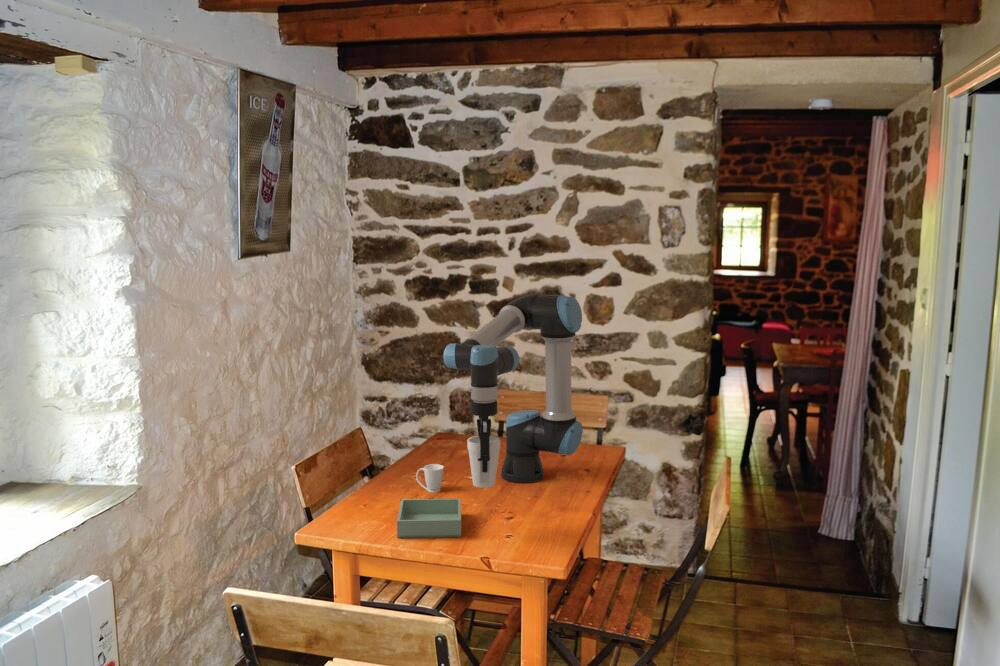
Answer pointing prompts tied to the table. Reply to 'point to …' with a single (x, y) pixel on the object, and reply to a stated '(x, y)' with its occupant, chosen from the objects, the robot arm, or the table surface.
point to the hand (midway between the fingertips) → (483, 476)
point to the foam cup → (474, 454)
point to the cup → (432, 477)
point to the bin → (429, 518)
